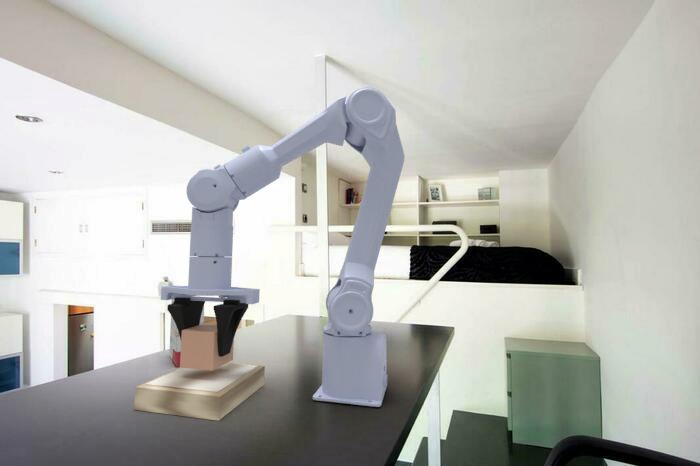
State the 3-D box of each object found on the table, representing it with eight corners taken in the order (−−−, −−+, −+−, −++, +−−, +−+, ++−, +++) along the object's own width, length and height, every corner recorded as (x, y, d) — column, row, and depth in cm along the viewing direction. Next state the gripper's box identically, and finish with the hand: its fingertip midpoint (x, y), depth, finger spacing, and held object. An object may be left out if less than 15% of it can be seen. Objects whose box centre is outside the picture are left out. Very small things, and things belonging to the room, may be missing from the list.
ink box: (204, 363, 63) (207, 298, 64) (173, 368, 60) (176, 299, 61) (195, 352, 70) (198, 293, 71) (167, 355, 67) (170, 294, 68)
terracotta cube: (232, 359, 51) (234, 325, 51) (212, 370, 46) (214, 332, 46) (202, 357, 52) (204, 323, 52) (179, 367, 47) (181, 330, 47)
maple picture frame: (264, 384, 53) (264, 364, 53) (218, 420, 41) (219, 394, 42) (195, 377, 56) (195, 358, 56) (134, 409, 44) (135, 385, 44)
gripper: (270, 257, 52) (267, 349, 51) (185, 256, 55) (181, 342, 54) (246, 257, 45) (242, 363, 44) (151, 256, 48) (146, 355, 47)
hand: (207, 353), depth 49 cm, fingers closed on terracotta cube, 5 cm apart
